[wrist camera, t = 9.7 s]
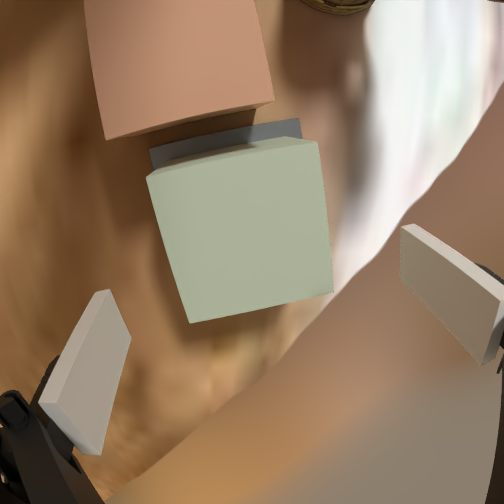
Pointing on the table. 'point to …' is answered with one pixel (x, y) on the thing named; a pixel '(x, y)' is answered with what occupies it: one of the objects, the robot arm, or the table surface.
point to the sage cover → (244, 226)
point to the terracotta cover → (174, 62)
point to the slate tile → (224, 140)
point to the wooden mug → (345, 5)
